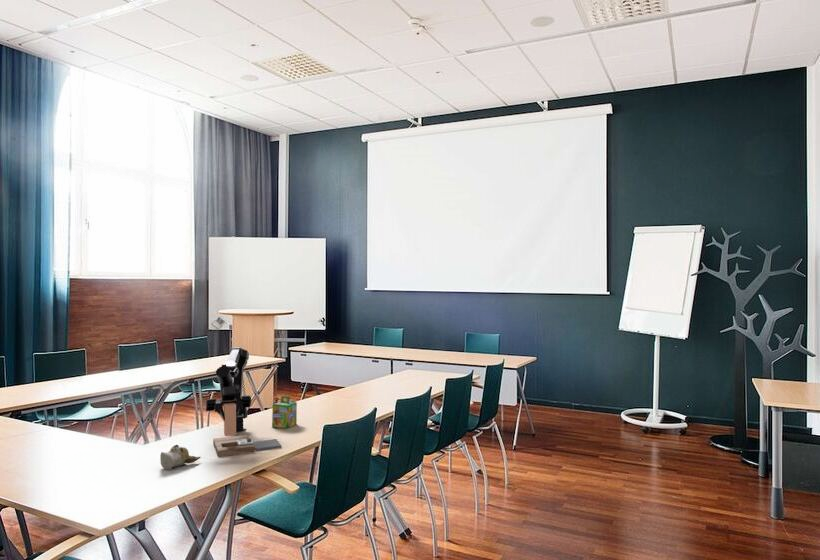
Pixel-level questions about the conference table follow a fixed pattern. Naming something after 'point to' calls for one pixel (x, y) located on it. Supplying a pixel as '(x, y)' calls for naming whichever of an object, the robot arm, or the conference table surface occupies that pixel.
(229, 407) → the terracotta block
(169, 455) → the ceramic sculpture
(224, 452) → the walnut puzzle board
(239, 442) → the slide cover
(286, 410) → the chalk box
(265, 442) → the rubber pad
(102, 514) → the conference table surface
